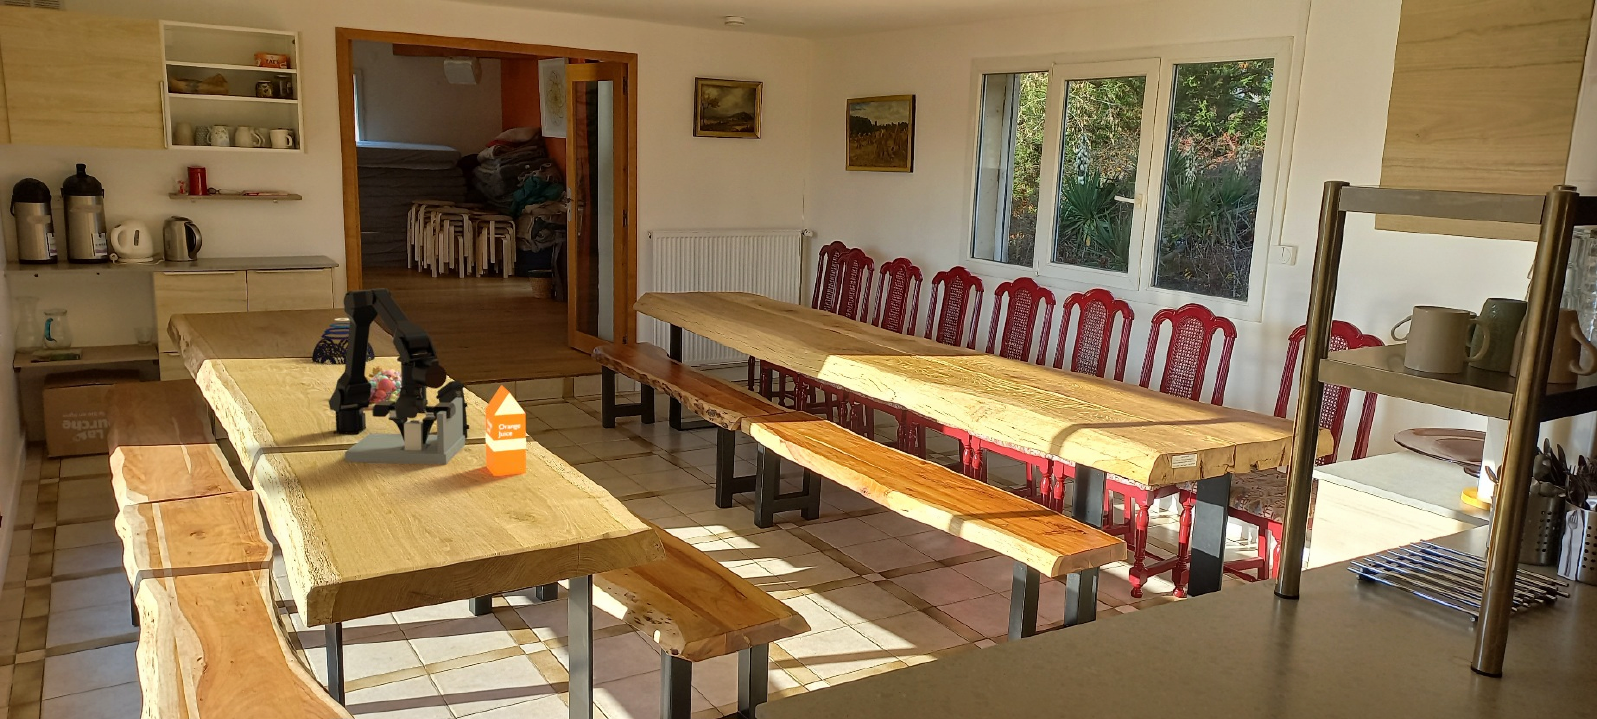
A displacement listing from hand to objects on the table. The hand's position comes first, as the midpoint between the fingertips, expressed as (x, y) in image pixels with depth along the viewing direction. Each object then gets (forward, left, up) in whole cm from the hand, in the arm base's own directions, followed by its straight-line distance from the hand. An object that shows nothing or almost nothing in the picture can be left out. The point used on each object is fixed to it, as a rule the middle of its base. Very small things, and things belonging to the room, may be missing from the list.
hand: (415, 443), depth 274 cm
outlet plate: (-3, +3, -3) cm, 5 cm away
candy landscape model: (-28, +62, -4) cm, 68 cm away
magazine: (+3, +23, -4) cm, 23 cm away
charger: (0, 0, -2) cm, 2 cm away
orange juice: (+24, -9, -4) cm, 26 cm away
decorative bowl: (-61, +122, -4) cm, 136 cm away
